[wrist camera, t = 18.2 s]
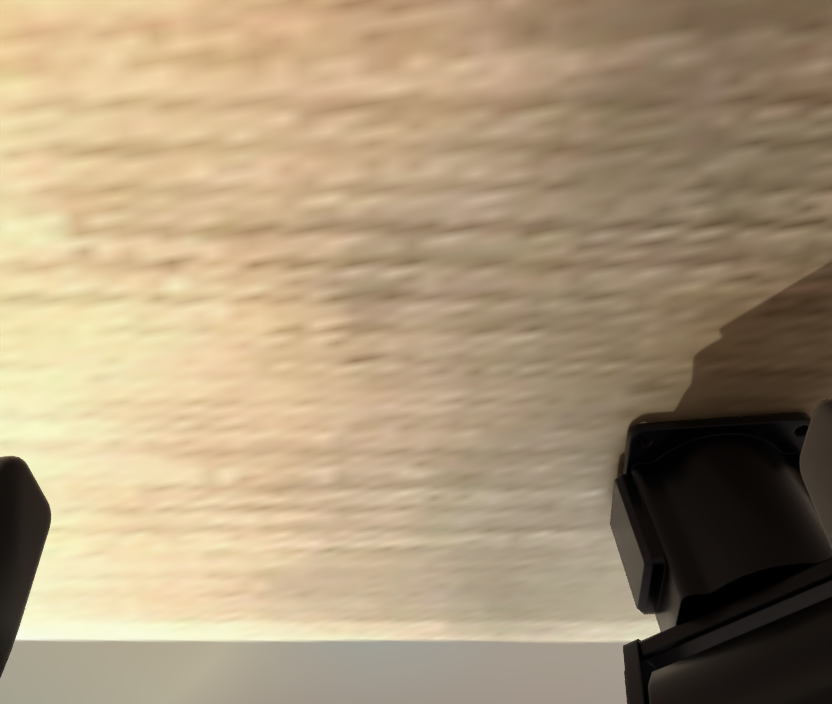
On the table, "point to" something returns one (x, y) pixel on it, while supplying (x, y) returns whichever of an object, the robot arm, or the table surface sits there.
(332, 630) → the table surface
